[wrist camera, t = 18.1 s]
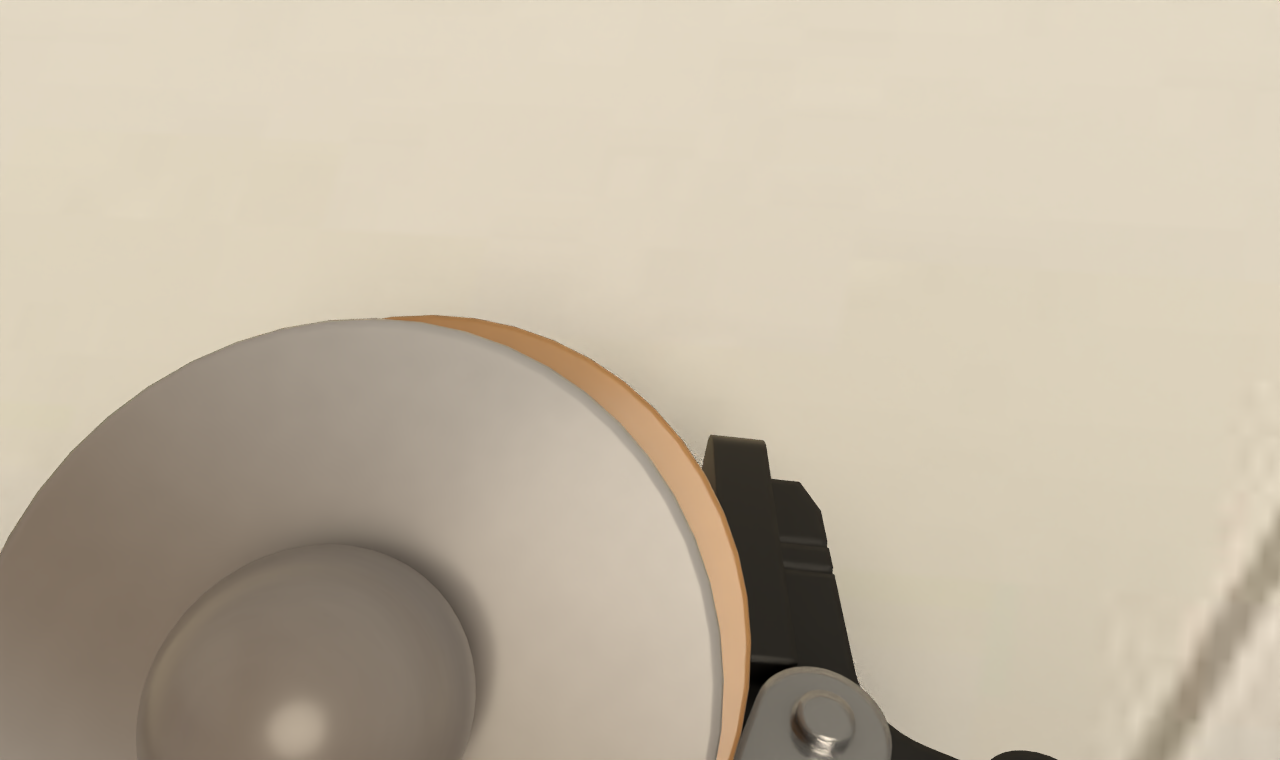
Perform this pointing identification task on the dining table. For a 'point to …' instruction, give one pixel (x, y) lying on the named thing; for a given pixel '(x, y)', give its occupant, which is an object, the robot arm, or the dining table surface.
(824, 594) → the robot arm
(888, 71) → the dining table surface
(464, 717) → the pepper mill
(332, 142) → the dining table surface
